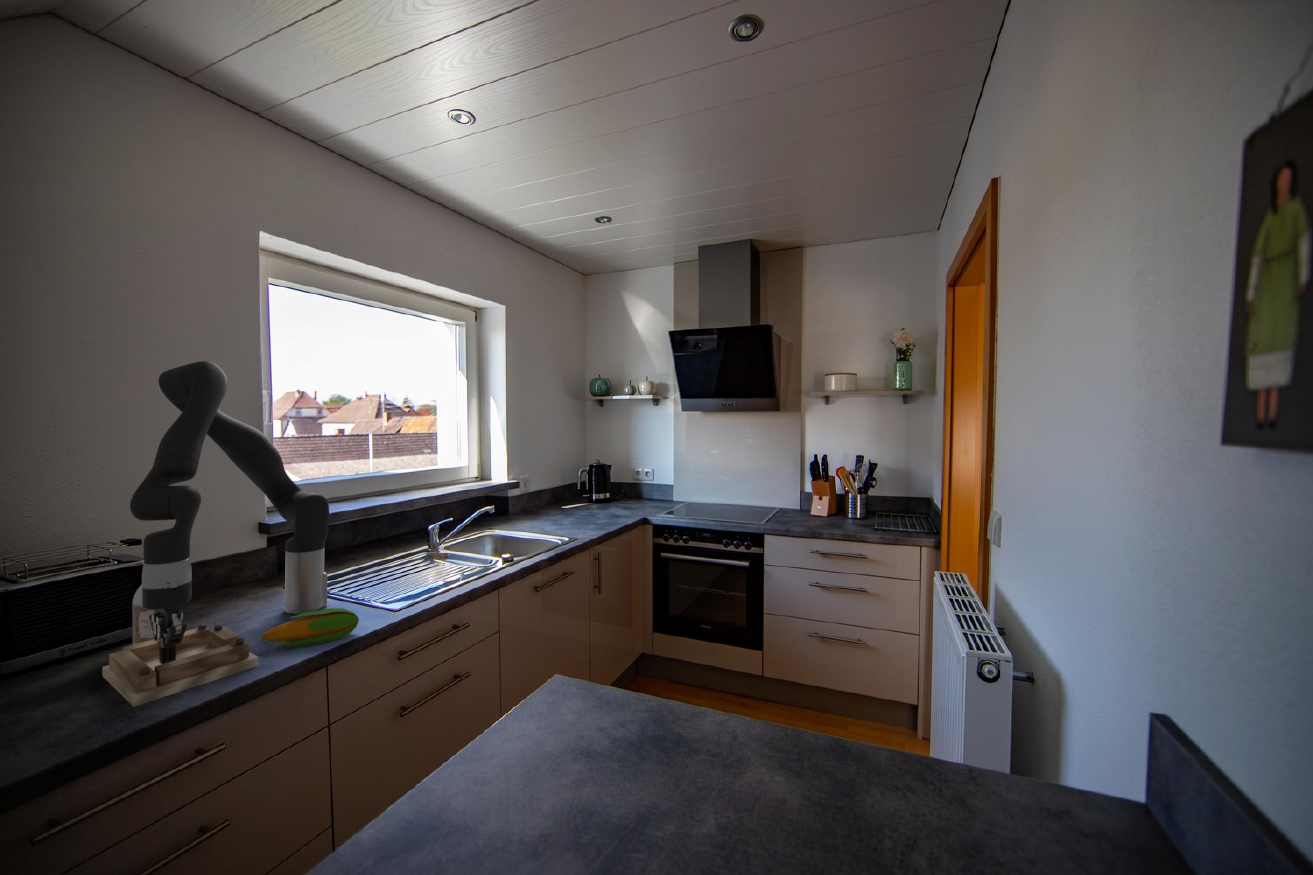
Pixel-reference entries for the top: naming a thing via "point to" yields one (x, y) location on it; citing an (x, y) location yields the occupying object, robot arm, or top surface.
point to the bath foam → (141, 620)
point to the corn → (314, 628)
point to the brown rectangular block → (202, 662)
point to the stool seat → (138, 661)
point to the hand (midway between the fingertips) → (167, 662)
